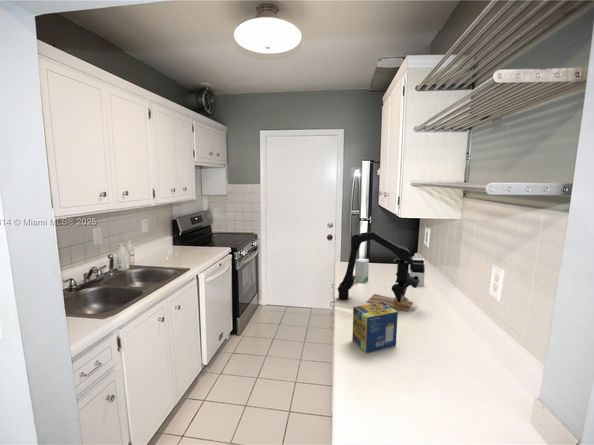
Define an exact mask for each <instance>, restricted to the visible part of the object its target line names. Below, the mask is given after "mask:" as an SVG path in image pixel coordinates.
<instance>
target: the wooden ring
mask: <svg viewBox="0 0 594 445" xmlns="http://www.w3.org/2000/svg"><path fill="white" fill-rule="evenodd" d="M393 298H394V305H395V306H397V307H400V308H406V307H408V301H409V302H410V300H409V298H408V297H406V296H405V301H400V302H398V301H397V299H396V296H394V297H393Z"/></svg>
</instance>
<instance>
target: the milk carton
mask: <svg viewBox="0 0 594 445" xmlns="http://www.w3.org/2000/svg"><path fill="white" fill-rule="evenodd" d="M411 257H412V259H413V260H424V273H415V272H412V271H411V270H410V269H409V274H410V276H411V277H412V276H413V277H414V276H418V278H419V281H420V282H419V284H418V286H417V287H425V277H426V276H425V273H426V272H425V271H426V262H425V258H424V256H411Z"/></svg>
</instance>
